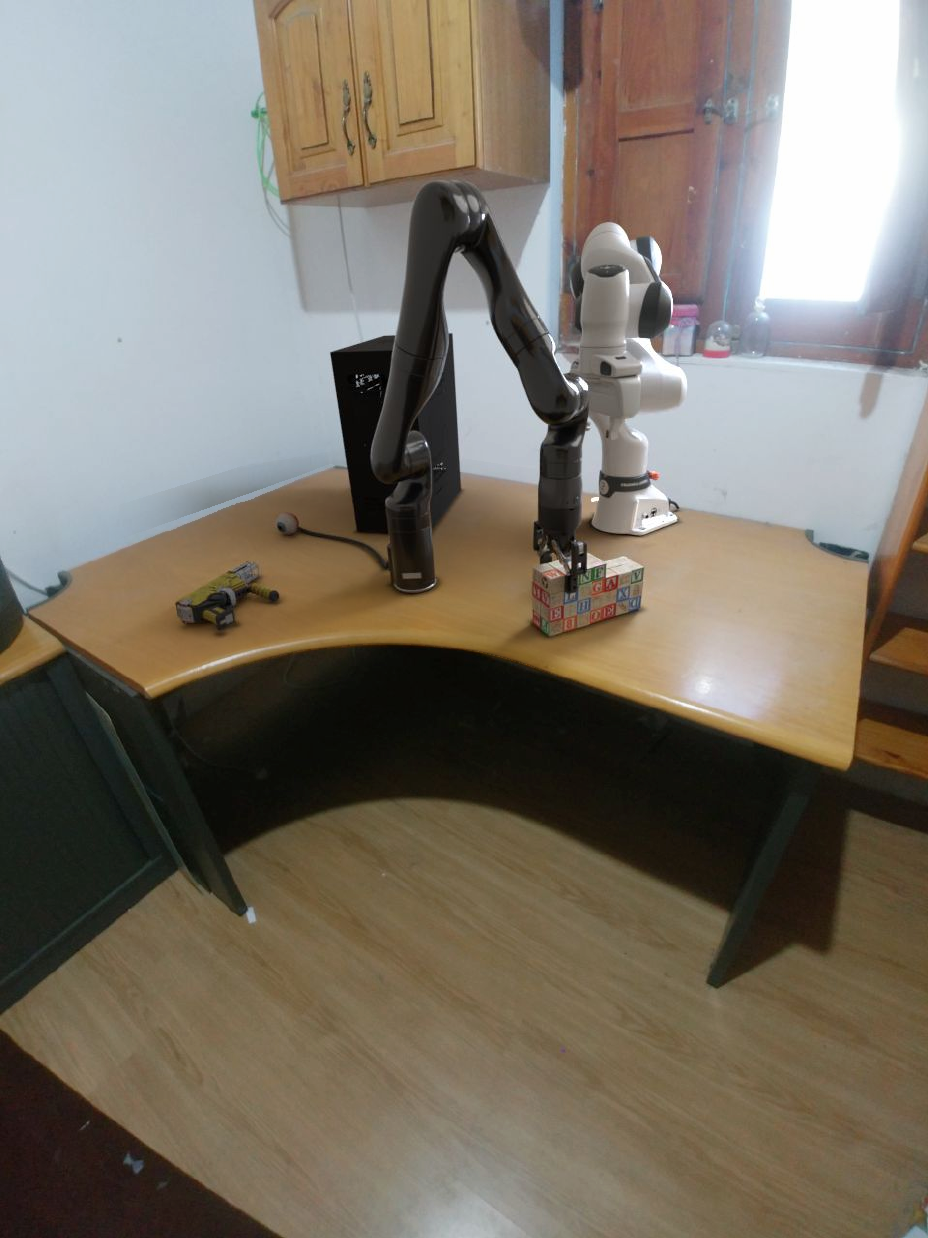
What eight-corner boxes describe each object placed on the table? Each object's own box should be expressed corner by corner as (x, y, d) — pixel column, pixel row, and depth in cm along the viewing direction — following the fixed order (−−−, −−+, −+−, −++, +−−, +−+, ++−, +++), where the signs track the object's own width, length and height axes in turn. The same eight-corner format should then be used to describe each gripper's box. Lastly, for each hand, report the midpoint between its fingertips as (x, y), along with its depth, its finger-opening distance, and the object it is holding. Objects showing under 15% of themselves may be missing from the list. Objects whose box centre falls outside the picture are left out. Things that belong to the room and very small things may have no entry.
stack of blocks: (621, 596, 125) (626, 541, 119) (640, 609, 120) (647, 552, 114) (531, 622, 118) (531, 565, 111) (548, 637, 113) (550, 578, 106)
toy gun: (300, 570, 137) (245, 558, 141) (232, 617, 117) (169, 602, 121) (302, 588, 139) (247, 576, 143) (235, 638, 119) (173, 622, 123)
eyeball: (273, 537, 164) (268, 516, 161) (287, 528, 169) (282, 508, 166) (291, 539, 161) (286, 518, 158) (305, 530, 166) (301, 510, 163)
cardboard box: (428, 534, 159) (412, 349, 137) (356, 531, 164) (329, 352, 141) (461, 489, 191) (452, 333, 168) (400, 488, 195) (384, 335, 173)
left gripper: (520, 492, 108) (521, 574, 116) (563, 515, 97) (561, 604, 105) (556, 484, 111) (554, 565, 119) (602, 506, 99) (597, 594, 107)
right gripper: (559, 359, 124) (557, 427, 131) (620, 368, 108) (614, 446, 114) (584, 356, 126) (581, 424, 133) (648, 364, 110) (641, 441, 116)
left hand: (558, 583), depth 112 cm, fingers open, 8 cm apart
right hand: (597, 434), depth 124 cm, fingers open, 8 cm apart
